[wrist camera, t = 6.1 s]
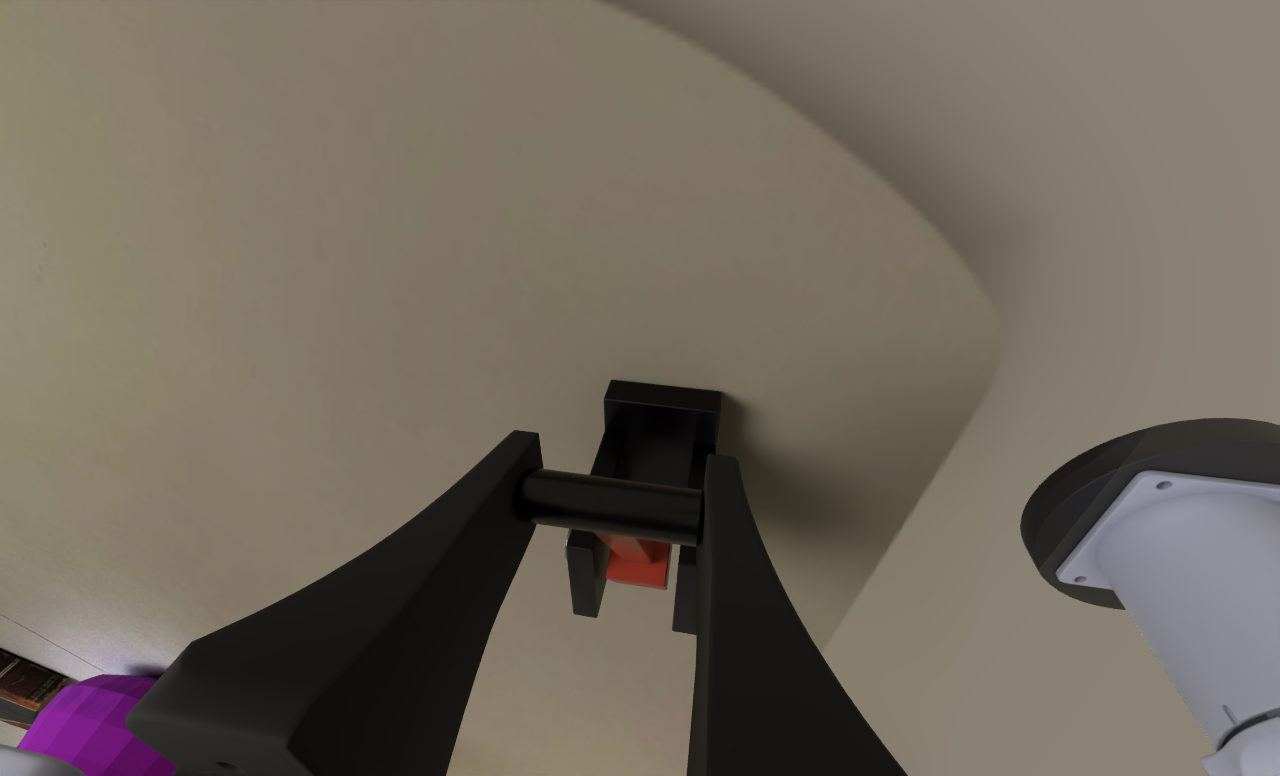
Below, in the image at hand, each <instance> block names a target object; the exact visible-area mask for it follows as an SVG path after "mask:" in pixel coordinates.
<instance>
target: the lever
mask: <svg viewBox="0 0 1280 776" xmlns="http://www.w3.org/2000/svg"><path fill="white" fill-rule="evenodd" d="M515 507H516V515H517V518H518V519H519V520H520V521H522V522H528V523H535V524H542V525H549V526H556V527H563V528H569V529H576V530H583V531H590V532H593V533H594V534H596V535H597V536H598V537H599V538H600V539H601V540H602V541H603V542H604V543H606V544H607V545H608V546H609V547H610V548H611V549H610V555H609V561H608V568H607V574H606V578H607V579H609V580H611V581H614V582H617V583H623V584H629V585H636V586H642V587H648V588H654V589H661V590H667V585H668V576H669V568H670V560H671V552H672V544H678V545H685V546H692V547H697V546H699V544H700V540H701V532H702V523H703V514H704V491H702V490H698V489H691V488H683V487H676V486H668V485H661V484H653V483H646V482H638V481H630V480H623V479H615V478H608V477H600V476H593V475H585V474H578V473H570V472H563V471H555V470H547V469H540V468H528V469H527V470H526V471H525V472H524V473H523V475H522V477H521V480H520V482H519V485H518V489H517V494H516V503H515Z"/></svg>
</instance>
